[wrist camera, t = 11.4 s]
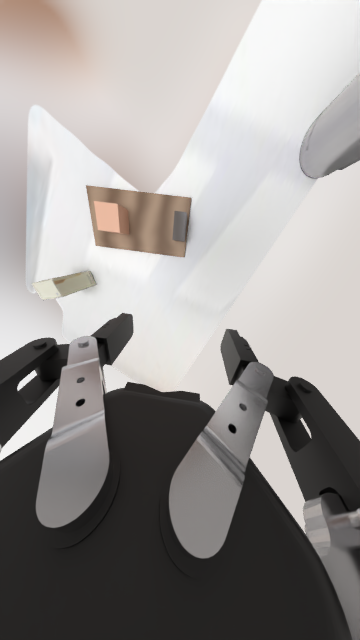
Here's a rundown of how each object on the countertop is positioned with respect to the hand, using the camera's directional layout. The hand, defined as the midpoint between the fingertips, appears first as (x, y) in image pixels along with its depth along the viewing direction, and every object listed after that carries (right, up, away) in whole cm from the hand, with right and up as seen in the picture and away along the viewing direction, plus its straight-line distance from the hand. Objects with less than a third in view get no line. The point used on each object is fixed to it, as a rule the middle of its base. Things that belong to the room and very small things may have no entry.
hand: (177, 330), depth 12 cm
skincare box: (-29, +14, +31) cm, 44 cm away
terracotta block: (-15, +25, +22) cm, 36 cm away
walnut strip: (-10, +25, +22) cm, 35 cm away
